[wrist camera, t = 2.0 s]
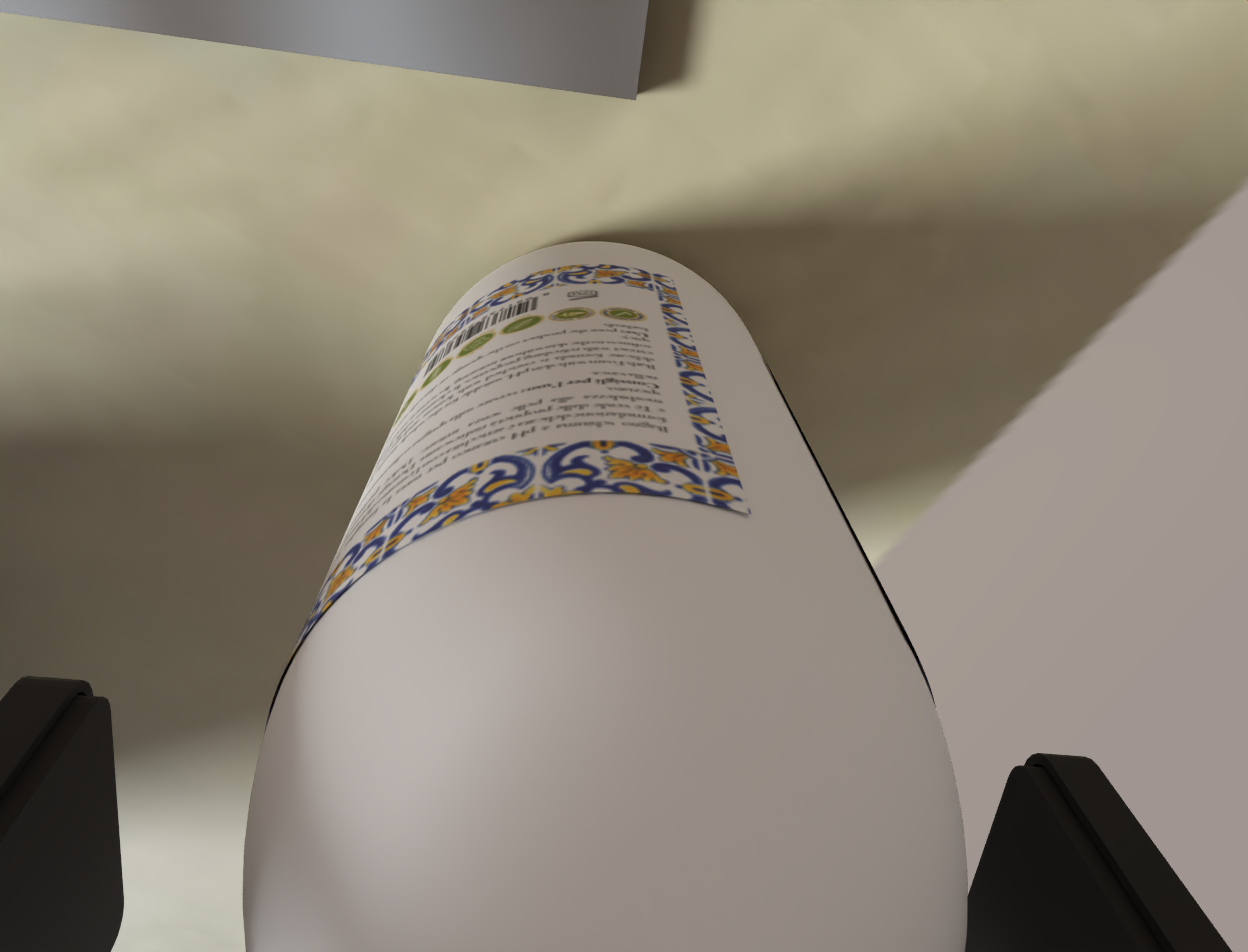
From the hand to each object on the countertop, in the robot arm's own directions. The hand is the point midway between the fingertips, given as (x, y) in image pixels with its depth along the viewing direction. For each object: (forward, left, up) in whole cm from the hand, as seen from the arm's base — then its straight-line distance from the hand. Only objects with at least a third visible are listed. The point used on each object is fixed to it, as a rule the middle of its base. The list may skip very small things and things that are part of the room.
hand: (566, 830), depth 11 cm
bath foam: (0, 0, -12) cm, 12 cm away
